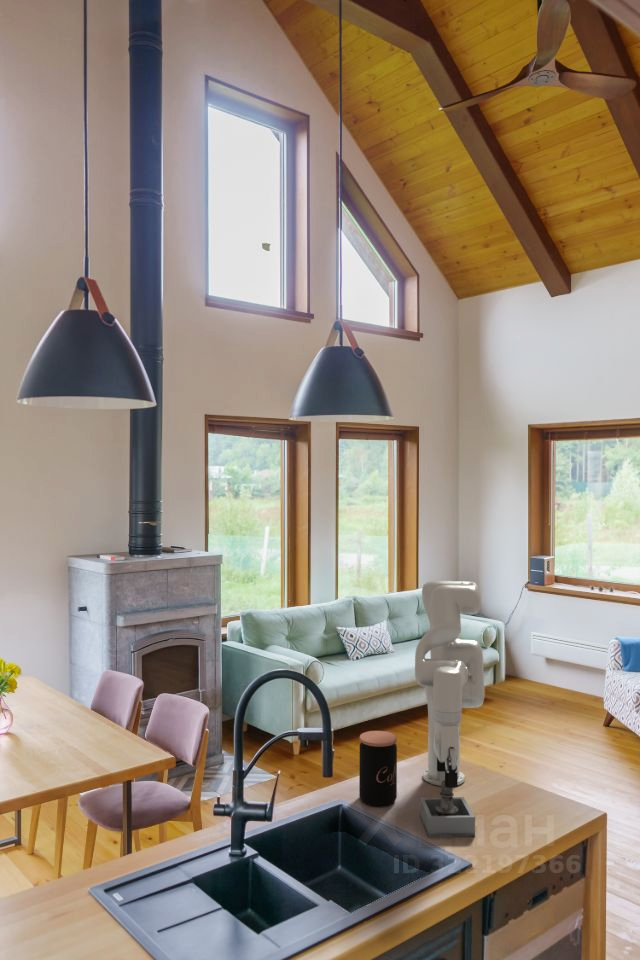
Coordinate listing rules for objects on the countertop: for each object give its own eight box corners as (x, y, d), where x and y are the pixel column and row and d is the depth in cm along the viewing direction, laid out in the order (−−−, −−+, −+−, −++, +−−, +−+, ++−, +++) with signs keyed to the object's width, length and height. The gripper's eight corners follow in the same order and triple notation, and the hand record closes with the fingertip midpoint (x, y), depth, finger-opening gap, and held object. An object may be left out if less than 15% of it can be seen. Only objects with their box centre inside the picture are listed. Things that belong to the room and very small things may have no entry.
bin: (419, 816, 208) (420, 798, 208) (463, 815, 208) (463, 797, 208) (428, 837, 196) (428, 818, 196) (475, 836, 196) (475, 817, 196)
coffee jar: (378, 811, 211) (378, 746, 210) (351, 799, 219) (351, 736, 218) (404, 800, 218) (404, 737, 217) (377, 788, 226) (377, 728, 225)
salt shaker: (457, 828, 199) (457, 782, 199) (434, 826, 200) (435, 780, 200) (458, 818, 205) (458, 773, 204) (436, 816, 206) (436, 771, 206)
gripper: (426, 704, 210) (426, 765, 211) (440, 727, 193) (439, 794, 194) (453, 703, 211) (453, 765, 211) (469, 726, 193) (469, 793, 194)
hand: (446, 778), depth 203 cm, fingers open, 9 cm apart
